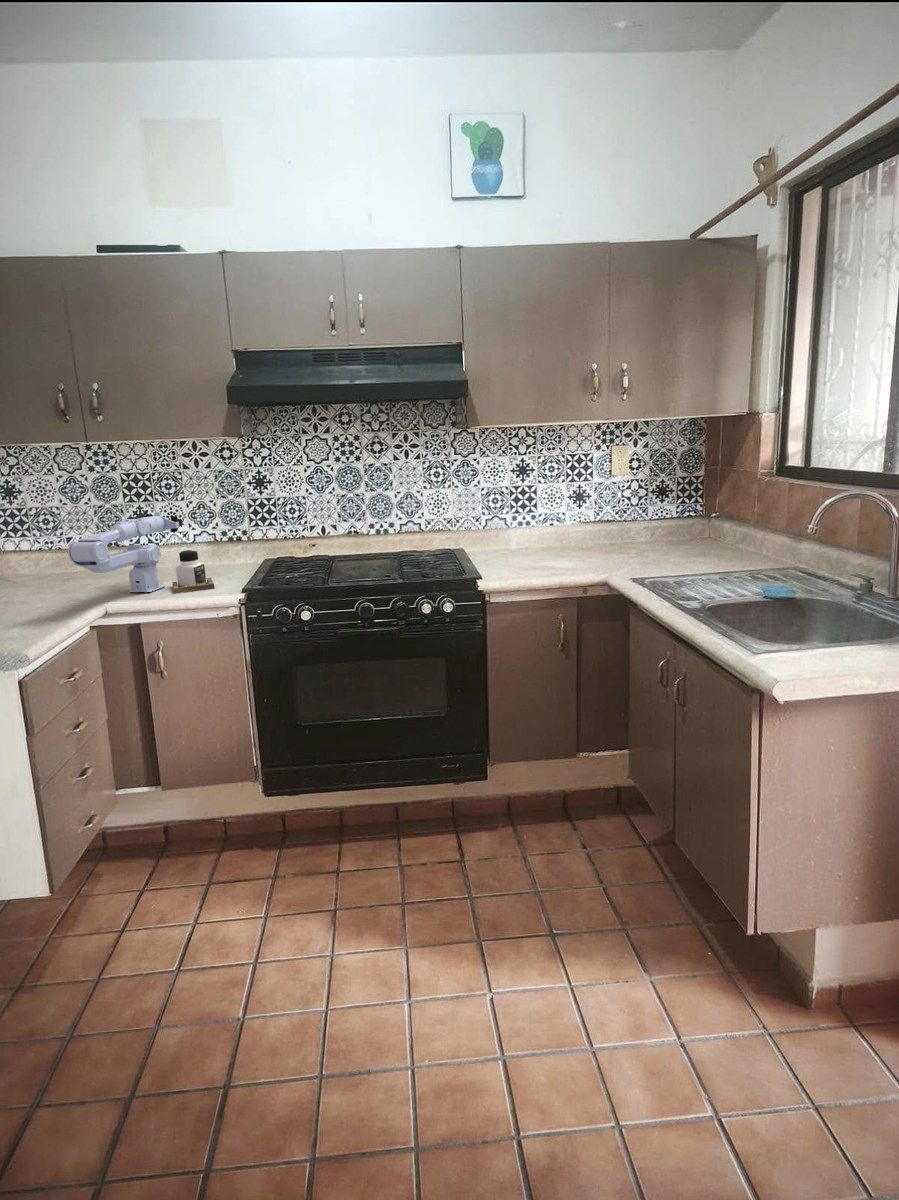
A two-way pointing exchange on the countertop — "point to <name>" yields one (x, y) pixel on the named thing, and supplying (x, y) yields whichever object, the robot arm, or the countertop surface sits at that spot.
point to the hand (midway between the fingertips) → (171, 521)
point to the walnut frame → (193, 587)
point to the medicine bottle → (190, 569)
